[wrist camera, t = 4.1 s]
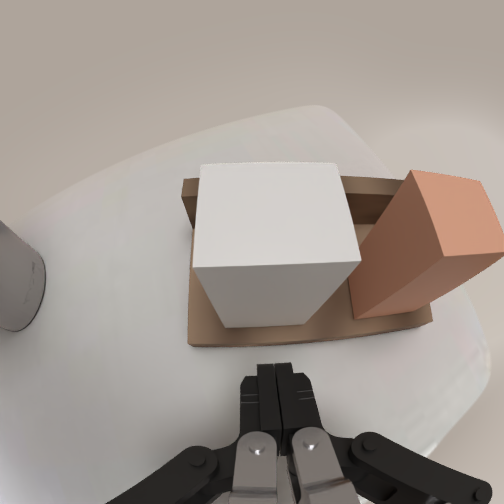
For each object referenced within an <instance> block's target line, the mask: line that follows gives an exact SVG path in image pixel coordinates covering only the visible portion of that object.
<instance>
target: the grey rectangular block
mask: <svg viewBox="0 0 504 504" xmlns="http://www.w3.org/2000/svg"><path fill="white" fill-rule="evenodd" d="M360 262H361V256H360V251H359V247H358V242H357V238H356V234H355V230H354V225H353V221H352V217H351V214H350V210H349V206H348V202H347V199H346V195H345V191H344V188H343V184H342V181H341V178H340V174H339V171H338V168H337V165H336V163H319V162H244V163H221V164H205V165H201V170H200V179H199V189H198V199H197V210H196V222H195V235H194V250H193V269H194V271H195V273H196V275H197V277H198V279H199V281H200V283H201V285H202V286H203V288H204V290H205V292H206V294H207V296H208V298H209V299H210V301H211V303H212V305H213V307H214V309H215V310H216V312H217V314H218V316H219V318H220V319H221V321H222V323H223V325H224V327H225V328H242V327H268V326H286V325H301V324H305V323H306V322H307V321H308V320H309V319H310V317H311V316H312V315H313V314H314V313H315V312H316V311H317V310H318V309H319V308H320V307H321V306H322V305H323V304H324V303H325V302H326V301H327V299H328V298H329V297H330V296H331V295H332V294H333V293H334V292H335V291H336V290H337V288H338V287H339V286H340V285H341V284H342V283H343V282H344V281H345V279H346V278H347V277H348V276H349V275H350V274H351V273H352V271H353V270H354V269H355V268H356V267H357V266H358V264H359V263H360Z"/></svg>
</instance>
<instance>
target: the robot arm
mask: <svg viewBox="0 0 504 504" xmlns="http://www.w3.org/2000/svg"><path fill="white" fill-rule="evenodd" d="M44 284H45V269H44V264H43V261H42V258H41V256H40V255H39V253H38V252H36V251H35V250H34V249H33V248H31V247H30V246H29V245H28V244H27V243H25V242H24V241H23V240H22V239H21V238H19V237H18V236H17V235H16V234H15V233H14V232H13V231H12V230H10V229H9V228H8V227H7V226H6V225H5V224H4V223H3V222H2V221H0V327H2V328H4V329H7V330H10V331H19V330H21V329H23V328H24V327H25V326H26V325H28V324H29V323H30V321H31V320H32V319H33V317H34V315H35V314H36V312H37V310H38V307H39V305H40V302H41V299H42V295H43V291H44ZM279 451H280V456H287V464H288V465H287V474H288V479H289V483H290V488H291V492H292V497H293V501H294V504H360V502H359V499H358V496H357V494H359V495H360V496H362V497H364V498H366V499H367V500H369V501H371V502H373V503H375V504H488V503H489V502H490V500H491V497H492V488H491V486H490V484H489V483H487V482H485V481H483V480H480V479H477V478H474V477H471V476H469V475H466V474H463V473H461V472H458V471H456V470H453V469H451V468H448V467H446V466H444V465H441V464H439V463H437V462H434V461H432V460H430V459H428V458H426V457H423V456H421V455H419V454H417V453H415V452H413V451H411V450H409V449H407V448H405V447H403V446H401V445H399V444H397V443H395V442H393V441H391V440H389V439H387V438H385V437H384V436H382V435H380V434H378V433H375V432H364V433H361V434H359V435H358V436H357V437H355V439H353V438H340V437H335V436H333V435H330V434H329V433H327V432H326V431H325V430H324V428H323V426H322V424H321V420H320V416H319V412H318V408H317V404H316V401H315V398H314V393H313V389H312V385H311V382H310V380H309V378H308V377H307V376H306V375H305V374H304V373H293V369H292V364H291V362H290V363H275V364H274V365H273V364H257V376H245V378H244V380H243V381H242V383H241V385H240V434H239V437H238V439H237V440H236V441H235V442H234V443H233V444H231V445H229V446H227V447H224V448H220V449H216V450H211V449H209V448H207V447H203V446H192V447H189V448H187V449H185V450H183V451H182V452H181V453H180V454H178V455H177V456H176V457H174V458H173V459H172V460H170V461H169V462H168V463H166V464H165V465H164V466H162V467H161V468H159V469H158V470H157V471H155V472H154V473H152V474H151V475H150V476H148V477H147V478H145V479H144V480H142V481H141V482H139V483H138V484H136V485H135V486H133V487H132V488H130V489H129V490H127V491H125V492H124V493H122V494H121V495H119V496H117V497H116V498H114V499H112V500H111V501H109V502H107V503H105V504H211V503H212V502H213V501H215V500H216V499H217V498H218V497H219V496H220V495H221V494H222V493H224V492H228V491H231V492H230V496H229V502H228V504H277V456H279ZM356 493H357V494H356Z"/></svg>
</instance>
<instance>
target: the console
mask: <svg viewBox="0 0 504 504" xmlns="http://www.w3.org/2000/svg"><path fill="white" fill-rule="evenodd" d="M340 178H341V181H342V184H343V188H344V191H345V195H346V199H347V202H348V206H349V210H350V214H351V217H352V221H353V225H354V230H355V234H356V238H357V242H358V247H359V246H360V245H361V243H362V242H363V241H364V239H365V238H366V236H367V235H368V234H369V232H370V231H371V229H372V228H373V227H374V225H375V224H376V222H377V221H378V219H379V218H380V216H381V215H382V214H383V212H384V211H385V209H386V208H387V206H388V205H389V203H390V202H391V200H392V199H393V197H394V195H395V194H396V192H397V191H398V189H399V188H400V186H401V185H402V183H403V181H404V180H396V179H384V178H370V177H353V176H340ZM199 179H200V178H191V179H184V181H183V188H182V195H181V197H182V200H183V203H184V206H185V209H186V211H187V214H188V217H189V220H190V222H191V225H192V228H193V232H192V246H191V261H190V279H189V303H188V344H189V345H191V346H193V347H247V346H271V345H287V344H300V343H312V342H322V341H332V340H340V339H348V338H356V337H363V336H370V335H376V334H383V333H389V332H394V331H400V330H405V329H410V328H415V327H420V326H423V325H425V324H427V323H430V322H432V321H433V319H432V313H431V308H430V303H428V304H426V305H424V306H423V307H421V308H419V309H417V310H415V311H412V312H406V313H399V314H393V315H386V316H378V317H371V318H363V319H355V320H354V314H353V307H352V300H351V293H350V287H349V280H348V277H347V278H346V279H345V281H344V282H343V283H342V284H341V285H340V286H339V287H338V288H337V290H336V291H335V292H334V293H333V294H332V295H331V296H330V297H329V298H328V299H327V301H326V302H325V303H324V304H323V305H322V306H321V307H320V308H319V309H318V310H317V311H316V312H315V313H314V314H313V315H312V316H311V317H310V319H309V320H308V321H307V322H306V323H305V324H301V325H286V326H268V327H242V328H225V327H224V325H223V323H222V321H221V319H220V318H219V316H218V314H217V312H216V310H215V309H214V307H213V305H212V303H211V301H210V299H209V298H208V296H207V294H206V292H205V290H204V288H203V286H202V285H201V283H200V281H199V279H198V277H197V275H196V273H195V271H194V269H193V250H194V235H195V222H196V210H197V199H198V189H199Z"/></svg>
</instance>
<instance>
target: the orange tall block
mask: <svg viewBox="0 0 504 504" xmlns="http://www.w3.org/2000/svg"><path fill="white" fill-rule="evenodd" d="M359 251H360V256H361V262H360V263H359V264H358V266H357V267H356V268H355V269H354V270H353V271H352V273H351V274H350V275H349V276H348V280H349V287H350V293H351V300H352V307H353V314H354V320H355V319H363V318H371V317H378V316H386V315H393V314H399V313H406V312H412V311H415V310H417V309H419V308H421V307H423V306H424V305H426V304H428V303H430V302H432V301H434V300H435V299H437V298H439V297H441V296H443V295H444V294H446V293H448V292H450V291H451V290H453V289H455V288H456V287H458V286H460V285H461V284H463V283H464V282H466V281H468V280H469V279H471V278H472V277H474V276H475V275H477V274H479V273H480V272H481V271H483V270H485V269H486V268H487V267H489V266H491V265H492V264H493V263H495V262H496V261H498V260H499V259H501V257H503V256H504V234H503V231H502V228H501V226H500V224H499V221H498V219H497V216H496V214H495V212H494V209H493V207H492V205H491V203H490V201H489V198H488V196H487V194H486V192H485V190H484V188H483V186H482V184H481V182H480V181H477V180H472V179H466V178H461V177H456V176H450V175H444V174H438V173H431V172H424V171H417V170H410V172H409V174H408V175H407V177H406V178H405V180H404V181H403V183H402V185H401V186H400V188H399V189H398V191H397V192H396V194H395V195H394V197H393V199H392V200H391V202H390V203H389V205H388V206H387V208H386V209H385V211H384V212H383V214H382V215H381V216H380V218H379V219H378V221H377V222H376V224H375V225H374V227H373V228H372V229H371V231H370V232H369V234H368V235H367V236H366V238H365V239H364V241H363V242H362V243H361V245H360V246H359Z"/></svg>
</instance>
